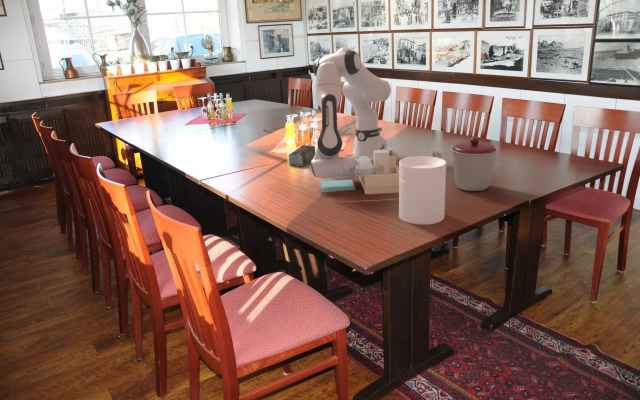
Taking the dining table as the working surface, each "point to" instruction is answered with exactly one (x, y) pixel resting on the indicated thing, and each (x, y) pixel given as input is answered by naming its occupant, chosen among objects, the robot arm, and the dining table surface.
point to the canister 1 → (422, 189)
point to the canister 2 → (473, 164)
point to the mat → (337, 185)
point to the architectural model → (436, 154)
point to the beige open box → (382, 180)
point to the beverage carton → (302, 155)
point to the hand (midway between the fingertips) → (381, 165)
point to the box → (381, 160)
